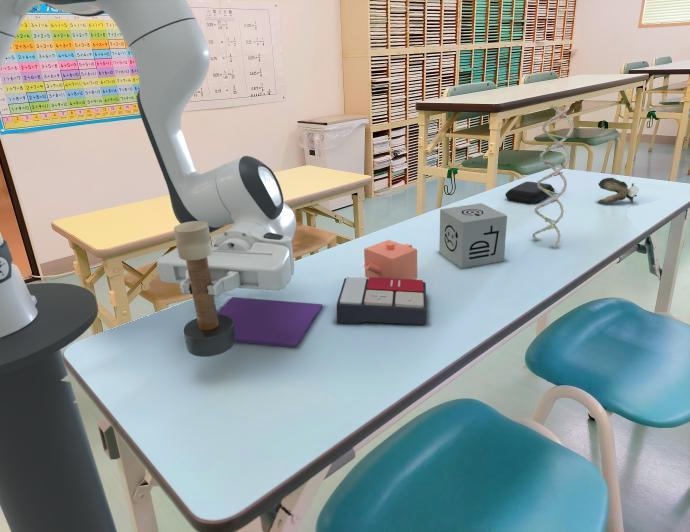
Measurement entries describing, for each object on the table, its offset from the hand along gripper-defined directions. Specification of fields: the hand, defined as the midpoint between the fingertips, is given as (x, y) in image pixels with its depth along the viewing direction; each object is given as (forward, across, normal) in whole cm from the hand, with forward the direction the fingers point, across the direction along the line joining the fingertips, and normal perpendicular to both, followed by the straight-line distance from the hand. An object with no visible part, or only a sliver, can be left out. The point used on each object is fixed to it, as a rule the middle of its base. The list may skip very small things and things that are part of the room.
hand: (198, 290), depth 71 cm
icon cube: (-51, +34, +14) cm, 63 cm away
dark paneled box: (-24, +20, +14) cm, 35 cm away
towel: (-16, 0, +14) cm, 21 cm away
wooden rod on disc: (-1, 0, +9) cm, 9 cm away
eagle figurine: (-96, +71, +14) cm, 121 cm away
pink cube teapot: (-35, +20, +14) cm, 43 cm away
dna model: (-61, +50, +14) cm, 81 cm away
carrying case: (-99, +49, +14) cm, 112 cm away
